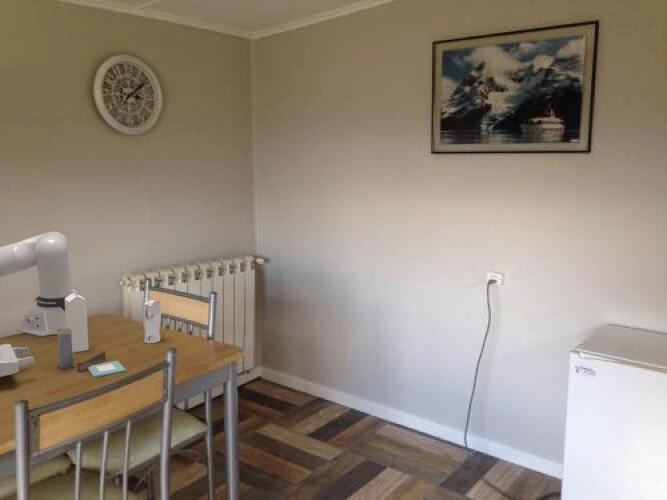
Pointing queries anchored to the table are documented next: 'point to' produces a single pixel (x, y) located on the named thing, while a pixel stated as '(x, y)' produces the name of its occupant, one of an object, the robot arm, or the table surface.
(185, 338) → the table surface
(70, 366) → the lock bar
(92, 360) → the dark brown bar
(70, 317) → the milk
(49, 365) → the table surface
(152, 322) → the beer glass
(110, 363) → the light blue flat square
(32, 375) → the table surface
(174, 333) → the table surface
